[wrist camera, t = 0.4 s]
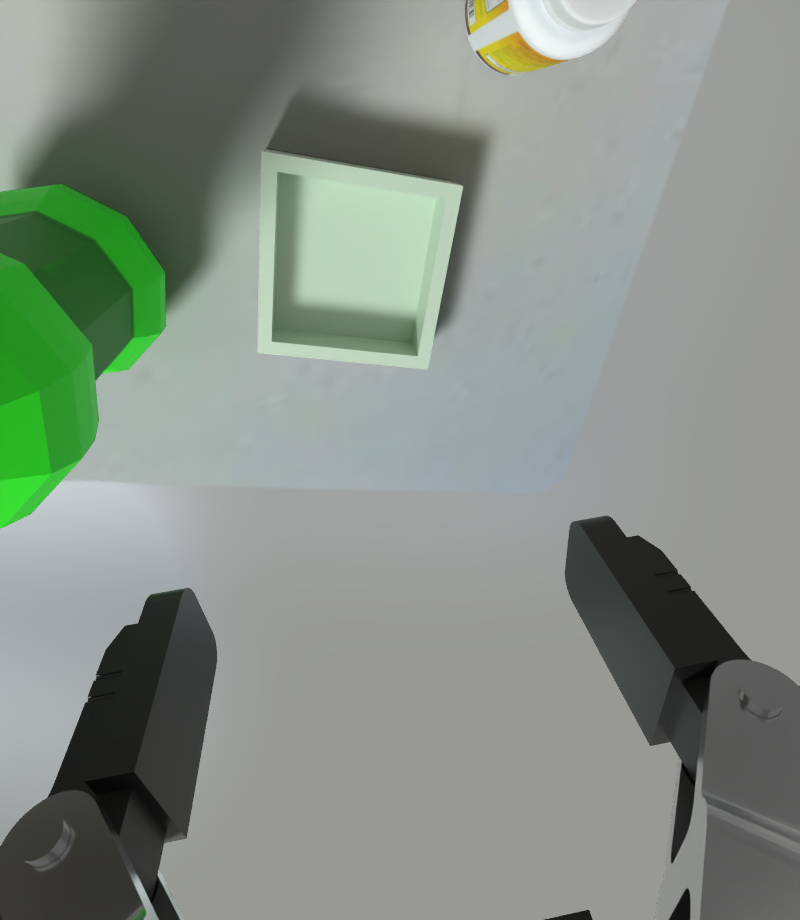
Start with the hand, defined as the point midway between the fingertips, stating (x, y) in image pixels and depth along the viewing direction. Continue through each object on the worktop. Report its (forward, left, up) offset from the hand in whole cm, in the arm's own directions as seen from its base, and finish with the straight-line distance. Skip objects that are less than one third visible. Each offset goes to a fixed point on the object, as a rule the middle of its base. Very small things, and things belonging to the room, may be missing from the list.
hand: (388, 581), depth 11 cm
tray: (-1, +1, -26) cm, 26 cm away
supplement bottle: (-15, +8, -27) cm, 31 cm away
